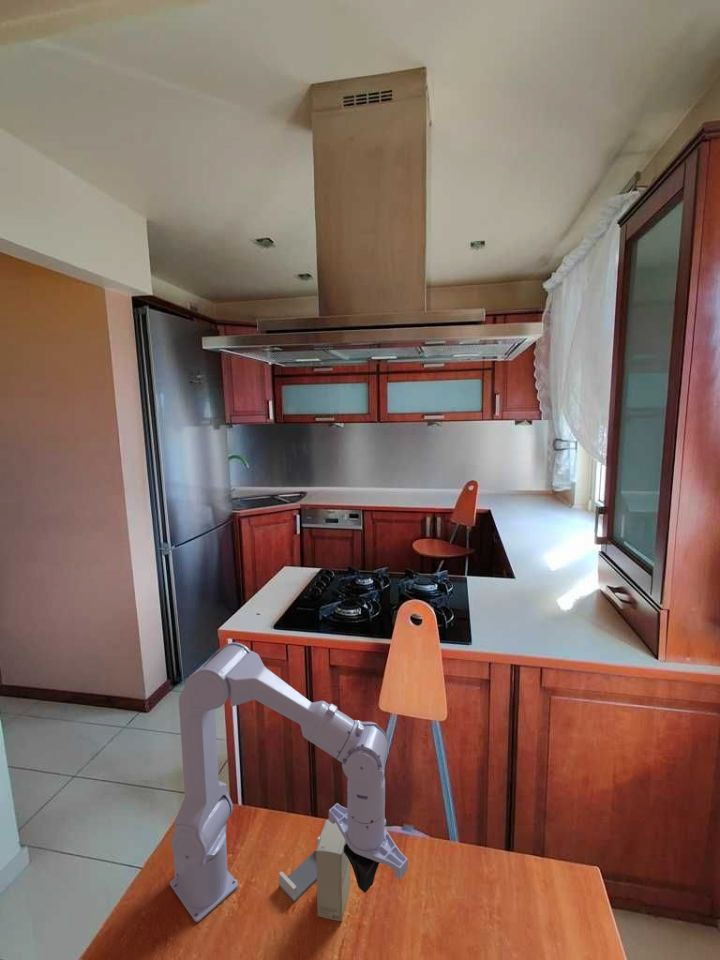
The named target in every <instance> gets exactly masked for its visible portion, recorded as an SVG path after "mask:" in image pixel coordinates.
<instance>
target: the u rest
mask: <svg viewBox="0 0 720 960" xmlns="http://www.w3.org/2000/svg"><path fill="white" fill-rule="evenodd" d="M320 836H321V835H319V836H318V837H317V838H316V844H317V846H318V843H319V839H320ZM317 846H316V847H317ZM315 882H317V861H316V849H314V851H313V852H312V853H311V854H310V855H309V856H308V857H307V858H306V859H304V861H302V863H300V864H299V865H298V866H297V867H296V868H295V869H294V870H293V871H292V872H291V873H290V874H289V875H288V876H287V875H286V873H284V872H283V871H280V872H279V873H278V884H279V885H278V886H279V888H280V890H282V891H283V892H284V893H285V894H286V895H287V897H288V898H289V899H290V900H291V901H292V902H293V903H296V902H297V901H298V900H299V899H300V897H302V895H303V894H304V893H305V892H306V891H308V889H309V888H311V887H312V885H313V884H314V883H315Z"/></svg>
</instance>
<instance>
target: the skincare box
mask: <svg viewBox="0 0 720 960" xmlns="http://www.w3.org/2000/svg"><path fill="white" fill-rule="evenodd" d="M319 836H320V839H319V843H318V846H316V849H315V850H316V861H317V880H316V897H317V898H316V899H317V901H316V902H317V903H316V906H317V917H320V918H323V919H327V920H328V919H329V920H333V921H338V922H343V921H344V915H345V911H346V906H347V902H348V898H349V893H350V890H351V863H350V861H349V859H348V857H347V856H346V855H345V853H344V845H345V844H346V843H347V842H346V841H345V839H344V837H343V835H342V833H341V831H340V829H339V828H338V826H337V824H336V822H335V823H334V824H332V823H331V822H330V821H329V818H328V819H326V820H325V821H324V824H323V826H322V830H321V834H320V835H319Z"/></svg>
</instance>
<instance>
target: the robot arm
mask: <svg viewBox="0 0 720 960" xmlns="http://www.w3.org/2000/svg"><path fill="white" fill-rule="evenodd" d="M228 699H230V704H229V707H236V706H238V705H242V704H245V703H247V702H248V703H249V702H251V701H257V702H259V703H261V704H262V705H265V707H268V708H270V709H271V710H273V711H275V712H277V713H279V714H281V715H282V716H285V717H286V718H288V719H290V720H291V721H293V722H295V723H296V724H299V726H300V729H301V732H302V736H303V738H304V739H306V740H307V741H308V742H310V743H311V744H313V745H315V746H316V747H318V748H319V749H321V750H322V751H324V752H325V753H327V754H329V755H330V756H331V757H333V758H334V759H335V760H337V761H339V762H340V763H341V767H342V772H343V773H344V775H345V777H346V778H347V790H346V791H347V799H346V800H347V801H346V802H347V807H344V806H342V805H340V803H338V802H336V803H335V804H334V805H332V807H331V808H329V810H328V819H329V821H330V822H331V823H332V824H334V823H335V822H336V824H337V826H338V828H339V829H340V831H341V833H342V835H343V837H344V839H345V841H346V842H347V843H346V844H345V845H344V853H345V855H346V856H347V857H348V859H349V861H350V866H351V867H352V870H353V873H354V876H355V879H356V880H355V881H356V884H357V887H358V888H359V890H361V891H362V892H363V893H364V894H366V893H367V892H368V891H369V889H370V888H371V887H372V886H373V885H374V880H375V876H376V873H377V870H378V867H379V864H382V865H385V866H387V867H390V868H391V869H392V870H393V871H394V873H393V874H394V877H395V878H397V880H398V881H401V879H402V878H403V877H404V876H405V874H406V873H407V872H408V871H409V868H408V867H409V864H408V863H409V859H408V858H407V857H406V856H405V854H403V853H402V851H401V850H400V849H399V847H398V846H397V845H396V843H395V842H394V840H393V838H392V837H391V835H390V834H389V832H388V830H387V829H386V826H387V819H386V818H385V815H386V813H385V812H386V810H385V808H386V777H385V761H386V756H387V752H388V744H389V740H388V739H389V738H388V736H387V734H386V732H385V731H384V729H383V728H382V727H380V726H379V725H378V724H377V723H376V722H373V721H362V720H359V719H353V718H351V717H350V716H349V715H347V714H345V713H344V712H343V711H340V710H339V709H338V706H337V705H336V704H333V703H328V702H326V701H325V700H319V701H314V702H312V701H310V700H309V699H308V698H306V697H305V696H304V695H303V694H301V693H300V692H299V691H297V690H296V689H295V688H293V687H292V686H291V685H289V684H288V683H287V682H286V681H284V680H283V679H282V678H280V677H279V676H277V675H276V674H275V673H273V671H271V670H270V669H268V668H267V667H266V666H265V664H264V663H263V661H262V659H261V657H260V655H259V654H258V652H255V651H252V650H250V648H249V647H247V646H246V645H245V644H243V643H242V642H241V643H240V642H234V641H232V642H229V643H227V644H225V645H224V646H223V647H220V648H219V649H218V650H217V651H215V652H214V654H212V655H211V656H210V657H209V658H208V660H207V661H205V663H203V664H202V665H201V666H200V667H199V668H198V669H197V670H196V671H195V672H193V673H192V674H191V675H189V676H188V677H187V678H186V679H185V685H184V687H183V688H182V691H181V692H180V694H179V696H178V708H179V709H178V711H179V726H180V727H179V728H180V740H181V741H180V743H181V744H180V745H181V757H182V758H181V759H182V771H183V786H184V788H183V789H184V798H183V799H182V800H183V801H182V803H181V805H180V808H179V809H178V813H177V815H176V818H175V821H174V833H173V834H172V836H171V840H170V846H171V850H172V852H173V864H174V877H173V878H172V879H171V880H170V881H169V885H170V887H171V888H172V890H173V891H174V894H176V897H178V899H179V900H180V902H181V903H182V905H183V907H185V909H186V910H187V912H188V913H189V916H190V917H192V920H193V921H194V922H195V923H199V922H200V921H201V920H203V919H204V918H205V916H207V915H208V914H209V913H211V912H212V910H214V909H215V908H216V907H217V906H219V905H220V903H222V902H223V901H224V900H225V899H227V897H228V896H230V895H231V894H232V893H233V892H234V891H236V889H238V888H239V882H238V881H237V880H236V879H235V877H234V876H233V875H232V873H231V872H230V871H229V870H228V853H227V827H228V826H227V823H228V822H227V821H228V820H229V818H230V817H231V816H232V813H233V810H234V804H233V801H232V799H231V797H230V795H229V793H228V785H227V783H225V782H223V781H222V780H219V778H220V777H219V760H218V759H219V758H218V741H217V738H218V737H217V719H216V709H219V708H221V707H222V706H224V705H225V704H226V702H227V701H228Z"/></svg>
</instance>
